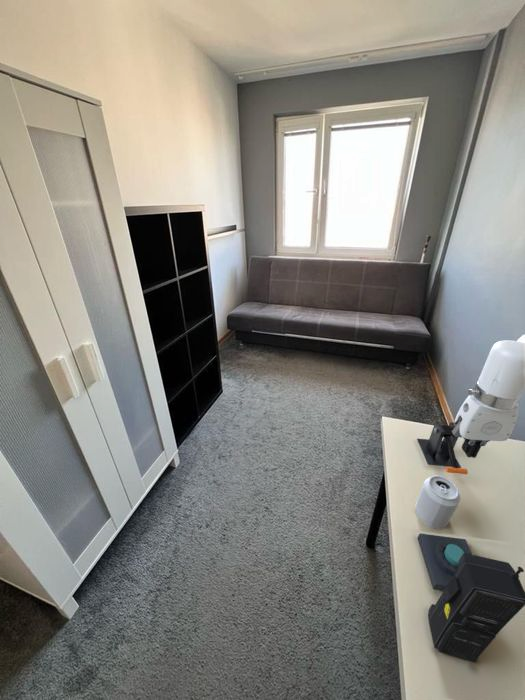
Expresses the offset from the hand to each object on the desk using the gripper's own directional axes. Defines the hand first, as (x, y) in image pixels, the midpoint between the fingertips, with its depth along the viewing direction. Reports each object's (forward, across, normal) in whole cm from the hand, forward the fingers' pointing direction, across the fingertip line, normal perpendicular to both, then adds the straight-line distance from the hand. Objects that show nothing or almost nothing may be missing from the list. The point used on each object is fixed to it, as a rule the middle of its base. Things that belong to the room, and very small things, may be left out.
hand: (468, 452), depth 70 cm
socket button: (+11, -9, -19) cm, 24 cm away
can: (+15, -8, -8) cm, 19 cm away
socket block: (+15, -9, -19) cm, 26 cm away
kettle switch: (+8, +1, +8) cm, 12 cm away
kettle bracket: (+15, +1, +12) cm, 19 cm away
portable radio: (+15, -14, -31) cm, 37 cm away
